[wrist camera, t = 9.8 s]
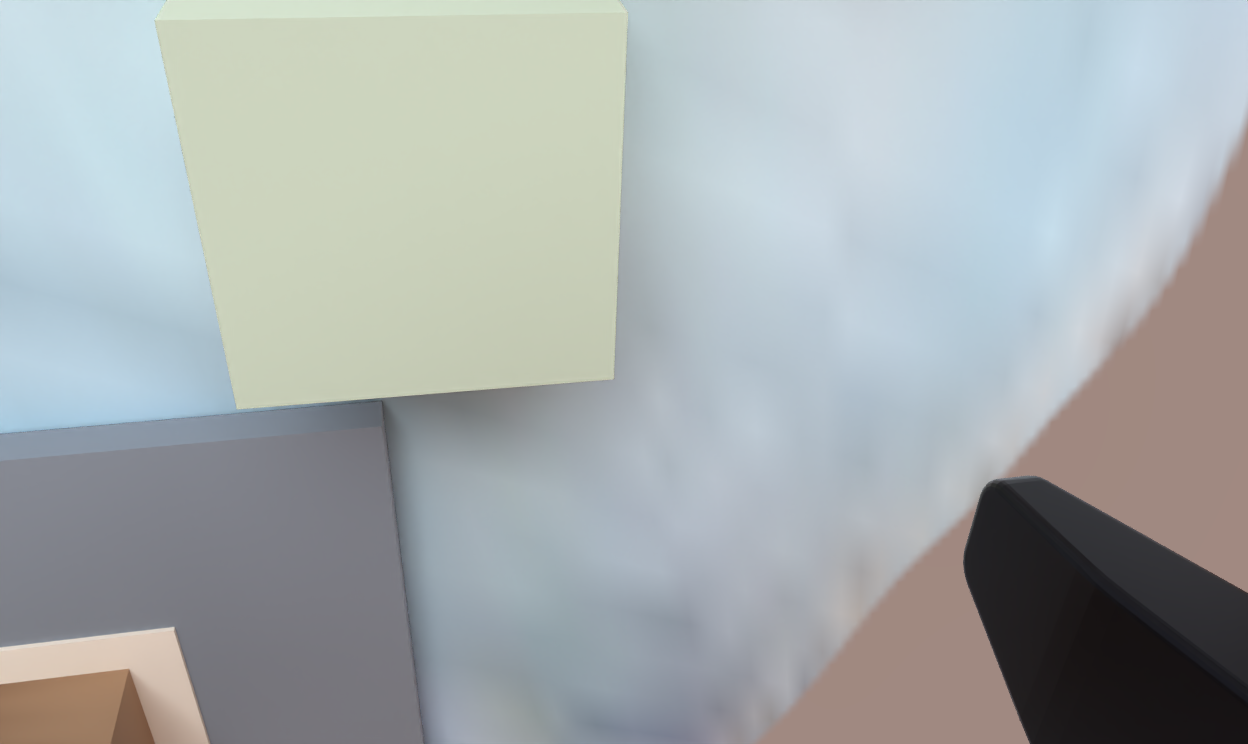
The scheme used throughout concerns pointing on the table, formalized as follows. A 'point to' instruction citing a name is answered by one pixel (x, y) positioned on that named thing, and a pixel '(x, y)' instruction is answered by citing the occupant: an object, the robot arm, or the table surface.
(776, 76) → the table surface
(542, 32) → the sage block
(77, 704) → the walnut block
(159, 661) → the gray flat panel
